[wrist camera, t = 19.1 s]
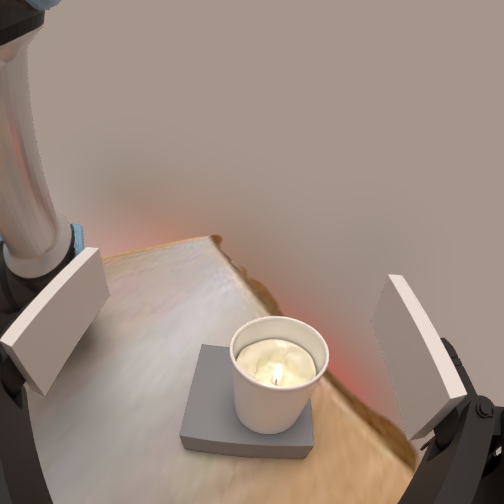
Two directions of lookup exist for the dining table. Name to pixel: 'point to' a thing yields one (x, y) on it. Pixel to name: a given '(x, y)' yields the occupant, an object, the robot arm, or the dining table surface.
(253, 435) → the riser block
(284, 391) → the candle holder
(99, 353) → the dining table surface
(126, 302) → the dining table surface
